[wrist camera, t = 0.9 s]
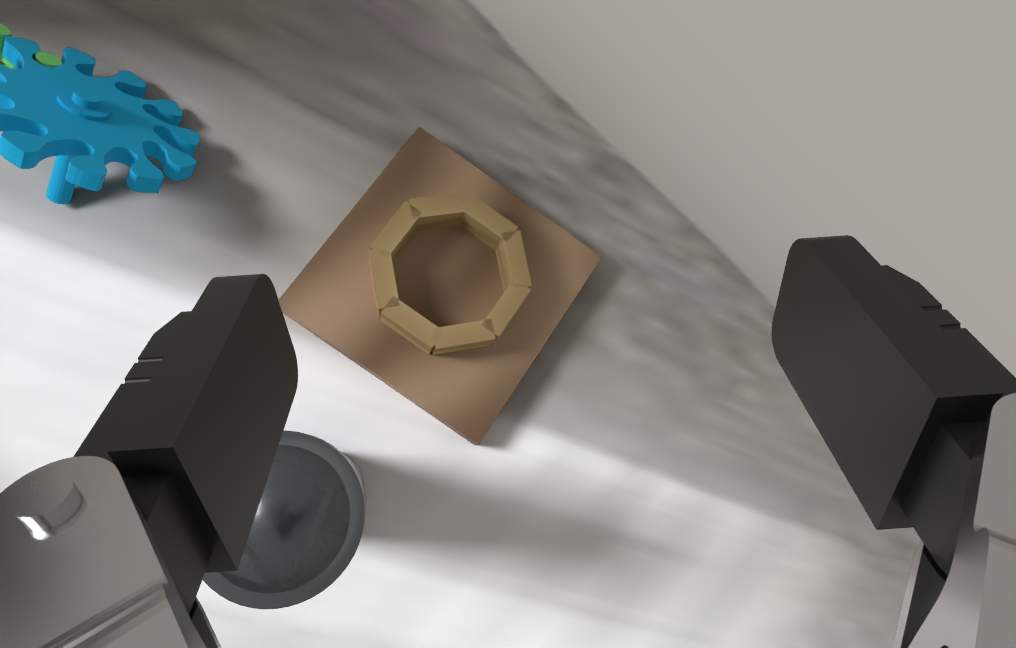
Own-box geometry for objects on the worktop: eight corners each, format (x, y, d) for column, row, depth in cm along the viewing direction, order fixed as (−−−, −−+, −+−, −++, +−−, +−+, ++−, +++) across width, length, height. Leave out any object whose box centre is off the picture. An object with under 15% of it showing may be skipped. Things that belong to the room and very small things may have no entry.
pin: (248, 506, 31) (145, 545, 17) (310, 421, 32) (260, 397, 19) (331, 562, 31) (293, 644, 18) (391, 476, 32) (398, 491, 19)
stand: (279, 310, 33) (268, 294, 30) (417, 139, 36) (421, 107, 33) (474, 444, 34) (484, 443, 30) (593, 264, 37) (614, 245, 33)
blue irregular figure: (248, 162, 33) (37, 176, 24) (208, 249, 35) (8, 289, 27) (109, 24, 34) (-135, -9, 25) (82, 117, 37) (-146, 116, 28)
